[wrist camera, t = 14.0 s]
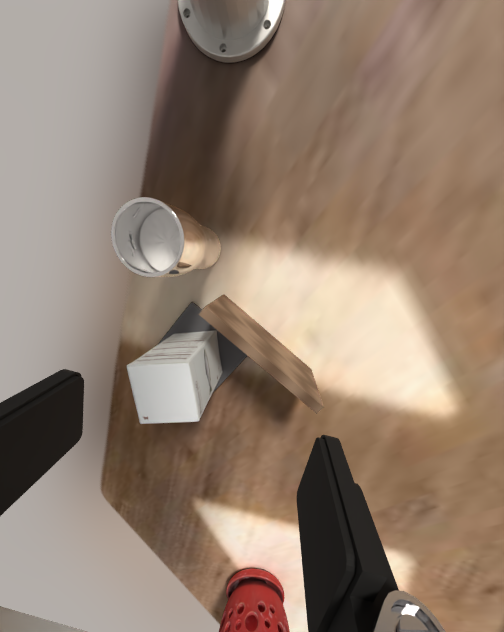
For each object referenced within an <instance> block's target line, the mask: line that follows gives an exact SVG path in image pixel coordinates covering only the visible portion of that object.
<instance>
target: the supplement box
mask: <svg viewBox="0 0 504 632" xmlns="http://www.w3.org/2000/svg"><path fill="white" fill-rule="evenodd" d="M127 371H128V375H129V379H130V383H131V387H132V392H133V397H134V400H135V404H136V408H137V412H138V417H139V422H140V424H148V423H176V422H197V421H199V420H200V418H201V416H202V413H203V411H204V409H205V407H206V405H207V403H208V401H209V399H210V397H211V395H212V393H213V391H214V389H215V387H216V385H217V383H218V381H219V379H220V376H221V374H222V372H223V371H222V366H221V360H220V354H219V347H218V339H217V331H216V330H214V331H202V332H190V333H178V334H173V335H171V336H170V337H168V338H167V339H165V340H164V341H162V342H161V343H160V344H158V345H157V346H155V347H154V348H152V349H151V350H149V351H148V352H147V353H145V354H144V355H142V356H141V357H139V358H138V359H136V360H135V361H133V362H132V363H130V364H128V365H127Z"/></svg>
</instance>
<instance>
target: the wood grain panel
mask: <svg viewBox="0 0 504 632" xmlns="http://www.w3.org/2000/svg"><path fill="white" fill-rule="evenodd" d="M199 315H200V316H201V317H202V318H204V319H205V320H206V321H207V322H208V323H209V324H211V325H212V326H213V327H214V328H215V329H217V330H218V331H219V332H220V333H221V334H223V335H224V336H225V337H226V338H227V339H228V340H230V341H231V342H232V343H233V344H234V345H236V346H237V347H238V348H239V349H240V350H242V351H243V352H244V353H245V354H246V355H247V356H249V357H250V358H251V359H252V360H253V361H255V362H256V363H257V364H258V365H259V366H261V367H262V368H263V369H264V370H265V371H267V372H268V373H269V374H270V375H271V376H272V377H274V378H275V379H276V380H277V381H278V382H280V383H281V384H282V385H283V386H284V387H286V388H287V389H288V390H289V391H290V392H291V393H293V394H294V395H295V396H296V397H297V398H299V399H300V400H301V401H302V402H303V403H305V404H306V405H307V406H308V407H309V408H310V409H312V410H313V411H314V412H315V413H316V414H317V413H318V412H319V411H320V410H321V409H322V408H324V406H323V403H322V400H321V397H320V394H319V391H318V388H317V385H316V382H315V379H314V376H313V373H312V370H311V369H310V368H309V367H308V366H307V365H306V364H305V363H303V362H302V361H301V360H300V359H299V358H298V357H296V356H295V355H294V354H293V353H292V352H291V351H289V350H288V349H287V348H286V347H285V346H284V345H282V344H281V343H280V342H279V341H278V340H277V339H275V338H274V337H273V336H272V335H271V334H270V333H268V332H267V331H266V330H265V329H264V328H263V327H262V326H260V325H259V324H258V323H257V322H256V321H255V320H253V319H252V318H251V317H250V316H249V315H248V314H246V313H245V312H244V311H243V310H242V309H241V308H239V307H238V306H237V305H236V304H235V303H234V302H232V301H231V300H230V299H229V298H228V297H227V296H225V295H222V296H221V297H219V298H218V299H216V300H215V301H213V302H211V303H210V304H208V305H207V306H205V307H204V309H203V310H202V311H201V312H200V314H199Z"/></svg>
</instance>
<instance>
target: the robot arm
mask: <svg viewBox="0 0 504 632" xmlns="http://www.w3.org/2000/svg"><path fill="white" fill-rule="evenodd" d="M285 1H286V0H178V7H179V11H180V15H181V18H182V21H183V24H184V26H185V29H186V31H187V33H188V35H189V37H190V38H191V40H192V42H193V43H194V44H195V45H196V46H197V48H198V49H199V50H200V51H201V52H203V53H204V54H205V55H207V56H208V57H210V58H212V59H214V60H216V61H221V62H226V63H227V62H239V61H242V60H246V59H248V58H250V57H252V56H254V55H255V54H256V53H258V52H259V51H260V50H261V49H263V48H264V47H265V45H266V44H267V43H268V42H269V41H270V40H271V38H272V36H273V35H274V33H275V32H276V30H277V28H278V26H279V23H280V21H281V18H282V15H283V11H284V7H285ZM83 396H84V380H83V378H82V377H81V374H80V373H78V372H74V371H70V370H66V369H63V370H60V371H58V372H56V373H55V374H53V375H51V376H49V377H47V378H45V379H44V380H42V381H40V382H38V383H36V384H34V385H33V386H31V387H29V388H27V389H25V390H23V391H21V392H20V393H18V394H16V395H14V396H12V397H10V398H8V399H7V400H5V401H3V402H1V403H0V516H1V515H2V514H3V513H4V512H5V511H6V510H7V509H8V508H9V507H10V506H11V505H12V504H13V503H14V502H15V501H16V500H18V499H19V498H20V496H22V495H23V494H24V493H25V492H26V491H27V490H28V489H29V488H30V487H31V486H32V485H33V484H34V483H35V482H36V481H38V480H39V479H40V478H41V477H42V476H43V475H44V474H45V473H46V472H47V471H48V470H49V469H50V468H51V467H52V466H53V465H54V464H55V463H56V462H57V461H59V459H60V458H62V457H63V456H64V455H65V454H66V453H67V452H68V451H69V450H70V449H71V448H72V447H73V446H74V445H75V444H76V443H77V442H78V441H79V440H80V438H81V436H82V428H83V426H82V425H83ZM297 509H298V520H299V532H300V543H301V554H302V565H303V577H304V588H305V599H306V610H307V622H308V631H309V632H445V630H444V629H443V627H442V626H441V624H440V623H439V621H438V620H437V618H436V617H435V616H434V615H433V614H432V613H431V612H430V610H429V609H428V608H427V607H426V606H425V605H424V604H423V603H421V602H420V601H419V600H418V599H417V598H415V597H414V596H412V595H410V594H408V593H406V592H404V591H399V590H398V587H397V584H396V582H395V579H394V576H393V573H392V571H391V568H390V565H389V563H388V560H387V557H386V554H385V552H384V549H383V546H382V544H381V541H380V538H379V535H378V533H377V530H376V527H375V525H374V522H373V519H372V516H371V514H370V511H369V508H368V506H367V503H366V500H365V498H364V495H363V492H362V490H361V488H360V486H359V485H358V484H356V483H354V480H353V478H352V475H351V472H350V469H349V466H348V463H347V460H346V457H345V455H344V452H343V449H342V446H341V443H340V441H339V439H338V438H335V437H331V436H327V435H322V436H321V438H316V440H315V443H314V446H313V448H312V451H311V454H310V457H309V460H308V462H307V465H306V468H305V471H304V474H303V477H302V479H301V482H300V485H299V488H298V491H297ZM0 632H87V631H83V630H80V629H76V628H73V627H69V626H66V625H63V624H59V623H56V622H52V621H49V620H45V619H42V618H38V617H35V616H32V615H28V614H25V613H21V612H18V611H14V610H11V609H8V608H4V607H1V606H0Z"/></svg>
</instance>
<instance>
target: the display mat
mask: <svg viewBox="0 0 504 632" xmlns="http://www.w3.org/2000/svg"><path fill="white" fill-rule="evenodd" d="M201 311H202V309H200V308H199V307H198V306H197V305H196V304H195V303H193V302H191V303H190V305H189V306H188V307H187V308H186V310H185V311H184V312H183V313H182V315H181V316H180V317H179V318H178V320H177V321H176V322H175V323H174V325H173V326H172V327H171V328H170V330H169V331H168V332H167V333H166V335H165V336H164V337H163V338H162V340H161V341H160V342H159V343H158V344H160V343H161V342H162V341H164V340H165V339H167V338H168V337H170V336H171V335H173V334H178V333H190V332H202V331H214V330H216V331H217V339H218V347H219V354H220V360H221V366H222V371H223V372H222V374H221V376H220V379H219V381H218V383H217V385H216V387H215V389H214V391H215V390H216V389H217V388H218V387H219V386H220V384H221V383H222V382H223V381H224V380H225V379H226V378H227V377H228V376H229V375H230V374H231V373H232V372H233V371H234V370H235V368H236V367H237V366H238V365H239V364H240V363H241V362H242V361H243V360H244V359H245V358H246V357H247V355H246V354H245V353H244V352H243V351H242V350H240V349H239V348H238V347H237V346H236V345H234V344H233V343H232V342H231V341H230V340H228V339H227V338H226V337H225V336H224V335H223V334H221V333H220V332H219V331H218V330H217V329H215V328H214V327H213V326H212V325H211V324H209V323H208V322H207V321H206V320H205V319H204V318H202V317H201V316H200V315H199V314H200V312H201ZM214 391H213V392H214Z"/></svg>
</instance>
